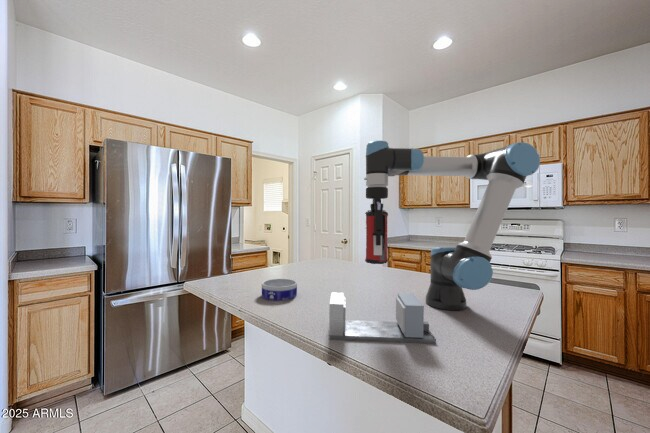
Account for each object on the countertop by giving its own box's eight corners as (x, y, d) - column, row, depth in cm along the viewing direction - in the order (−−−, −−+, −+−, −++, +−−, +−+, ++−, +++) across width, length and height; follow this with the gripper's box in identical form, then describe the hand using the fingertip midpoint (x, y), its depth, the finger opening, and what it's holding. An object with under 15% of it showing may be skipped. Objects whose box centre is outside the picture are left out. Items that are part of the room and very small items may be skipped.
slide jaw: (422, 321, 92) (422, 294, 92) (434, 338, 80) (434, 306, 80) (395, 320, 92) (395, 293, 92) (403, 336, 80) (403, 305, 80)
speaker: (364, 260, 103) (364, 210, 102) (385, 260, 102) (386, 210, 102) (366, 264, 95) (366, 210, 95) (389, 264, 94) (389, 210, 94)
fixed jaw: (345, 320, 93) (345, 292, 93) (345, 335, 81) (345, 304, 81) (331, 319, 94) (331, 292, 94) (329, 335, 82) (329, 303, 82)
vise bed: (424, 326, 92) (424, 322, 92) (436, 343, 80) (436, 339, 80) (331, 323, 94) (331, 319, 94) (329, 339, 82) (329, 335, 82)
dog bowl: (301, 292, 130) (301, 279, 130) (289, 302, 115) (289, 288, 115) (270, 290, 134) (270, 277, 133) (255, 299, 119) (255, 285, 119)
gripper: (363, 189, 108) (363, 249, 109) (368, 184, 88) (367, 257, 89) (383, 189, 108) (383, 249, 108) (392, 184, 88) (392, 258, 88)
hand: (376, 253), depth 98 cm, fingers closed on speaker, 7 cm apart
